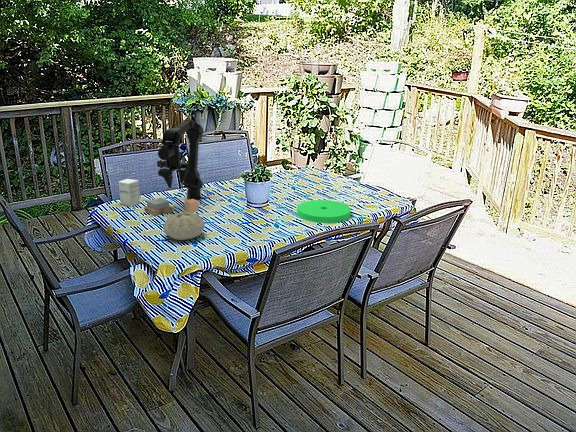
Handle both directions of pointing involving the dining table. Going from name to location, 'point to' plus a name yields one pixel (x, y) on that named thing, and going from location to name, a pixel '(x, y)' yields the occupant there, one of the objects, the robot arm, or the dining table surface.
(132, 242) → the dining table surface
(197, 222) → the decorative shell
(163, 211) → the walnut slab
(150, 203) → the grey square block
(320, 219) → the disc
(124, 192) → the supplement box
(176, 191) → the dining table surface
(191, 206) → the terracotta cube
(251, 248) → the dining table surface
